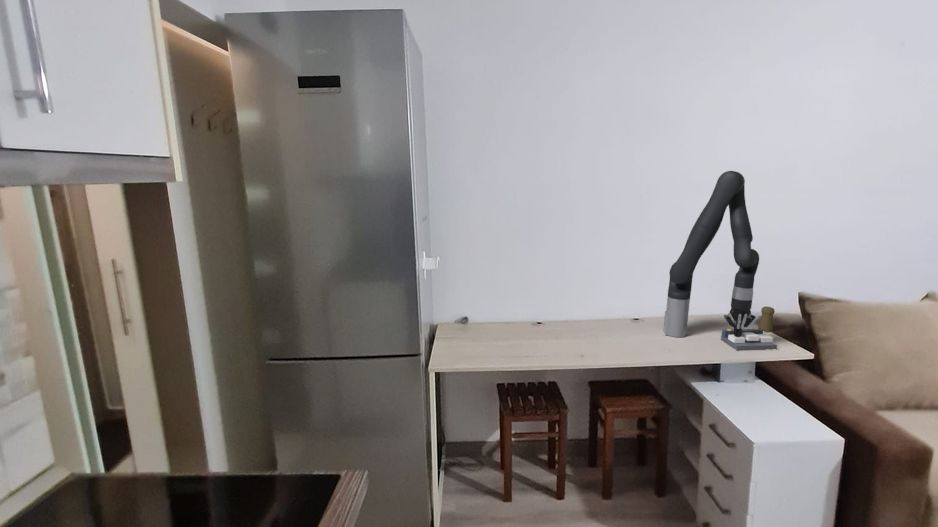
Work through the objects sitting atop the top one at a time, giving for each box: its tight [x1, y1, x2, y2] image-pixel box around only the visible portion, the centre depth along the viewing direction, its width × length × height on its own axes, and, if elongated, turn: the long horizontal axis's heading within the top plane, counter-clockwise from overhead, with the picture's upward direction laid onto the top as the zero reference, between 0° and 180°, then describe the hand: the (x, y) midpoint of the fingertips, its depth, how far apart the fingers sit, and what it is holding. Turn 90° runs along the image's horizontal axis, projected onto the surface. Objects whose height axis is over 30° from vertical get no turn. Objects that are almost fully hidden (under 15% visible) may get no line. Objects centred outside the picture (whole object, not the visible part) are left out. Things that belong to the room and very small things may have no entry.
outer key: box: [756, 333, 774, 343], centre depth 211 cm, size 5×5×2 cm
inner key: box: [728, 335, 745, 343], centre depth 210 cm, size 5×5×2 cm
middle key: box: [742, 332, 759, 341], centre depth 211 cm, size 5×5×2 cm
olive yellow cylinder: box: [757, 306, 775, 333], centre depth 229 cm, size 6×6×11 cm
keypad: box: [720, 327, 778, 351], centre depth 212 cm, size 17×12×5 cm
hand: (737, 336), depth 210 cm, fingers closed
